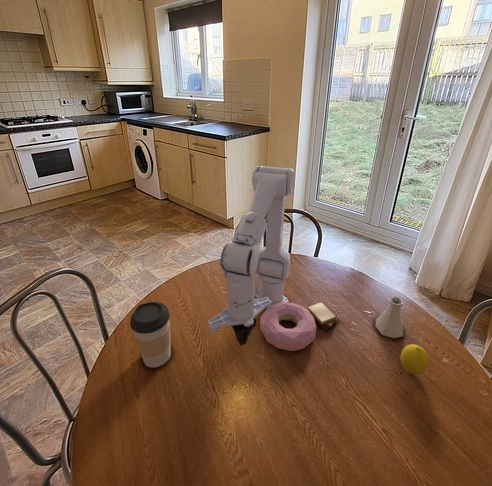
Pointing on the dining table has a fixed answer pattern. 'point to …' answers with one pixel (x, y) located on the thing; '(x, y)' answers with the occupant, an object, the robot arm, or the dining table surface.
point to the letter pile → (322, 315)
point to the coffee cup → (152, 333)
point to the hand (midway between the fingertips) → (241, 341)
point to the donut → (288, 337)
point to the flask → (391, 319)
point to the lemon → (414, 359)
